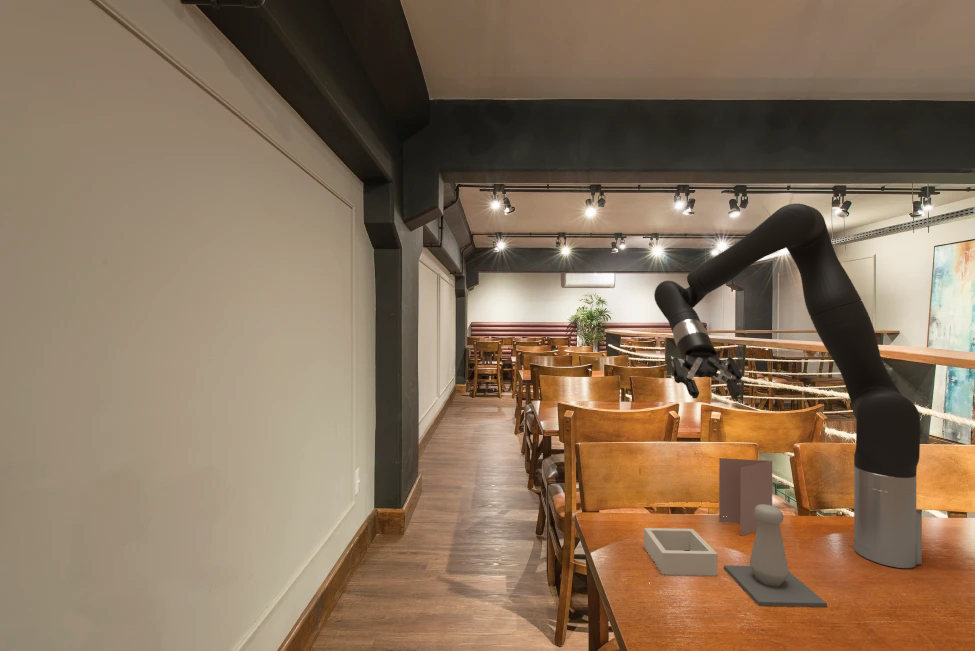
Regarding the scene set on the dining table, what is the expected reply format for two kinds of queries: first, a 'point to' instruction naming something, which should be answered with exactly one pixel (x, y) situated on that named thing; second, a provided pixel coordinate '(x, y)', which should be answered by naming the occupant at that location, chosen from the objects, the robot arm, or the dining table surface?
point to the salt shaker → (769, 547)
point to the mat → (775, 589)
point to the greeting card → (743, 491)
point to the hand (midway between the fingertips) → (716, 396)
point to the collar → (680, 552)
